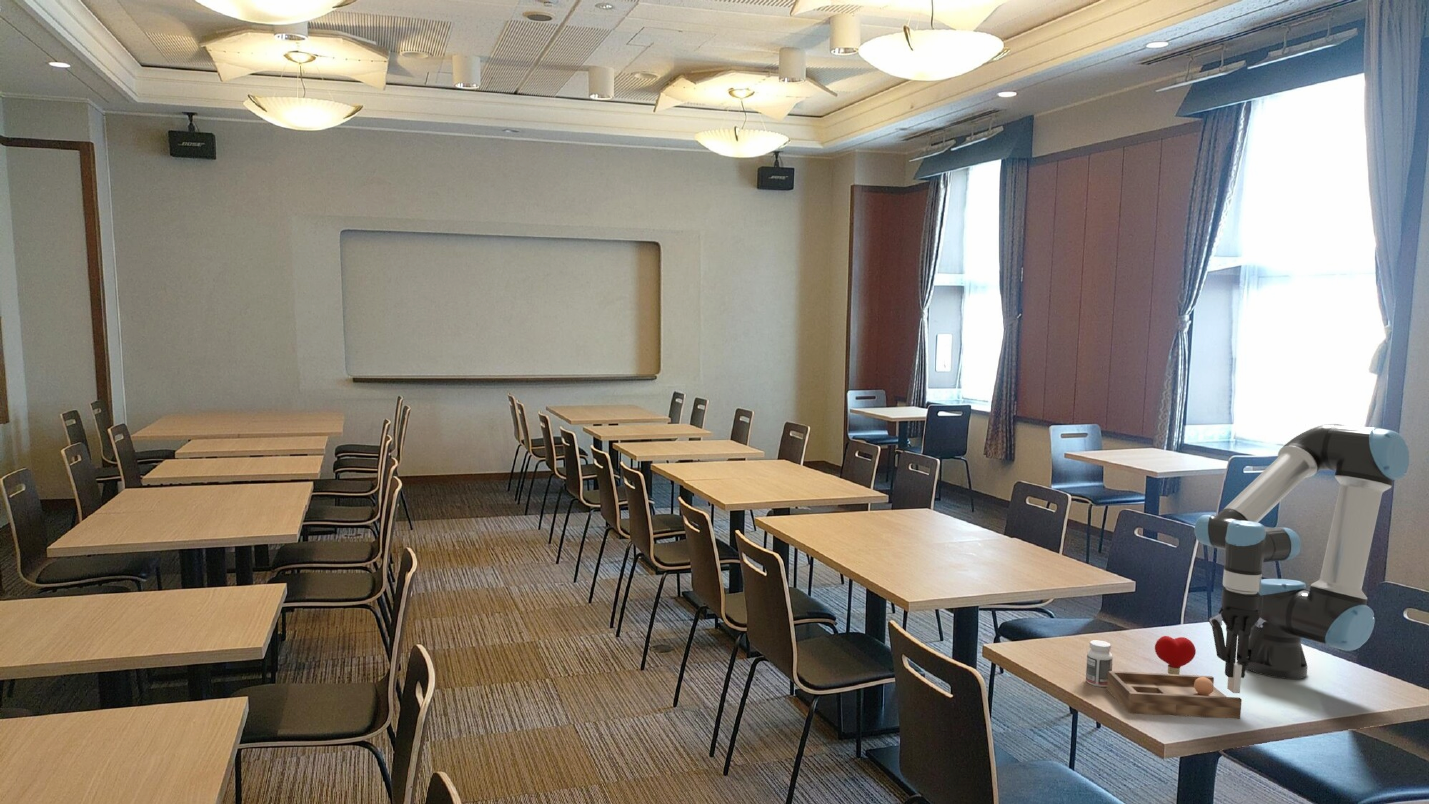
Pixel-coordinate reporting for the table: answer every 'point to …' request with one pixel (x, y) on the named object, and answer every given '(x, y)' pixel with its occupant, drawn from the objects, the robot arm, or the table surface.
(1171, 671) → the red heart-shaped lump
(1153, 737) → the table surface
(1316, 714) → the table surface
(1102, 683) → the pill bottle
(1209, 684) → the ball
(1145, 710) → the lane
